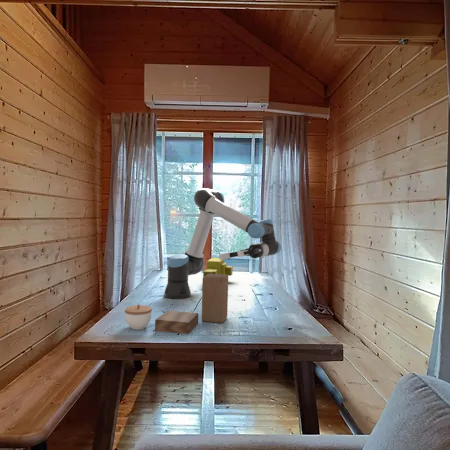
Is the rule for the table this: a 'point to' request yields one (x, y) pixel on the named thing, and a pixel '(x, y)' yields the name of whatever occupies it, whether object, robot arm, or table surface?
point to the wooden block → (214, 298)
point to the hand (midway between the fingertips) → (228, 255)
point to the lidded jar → (138, 316)
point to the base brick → (176, 322)
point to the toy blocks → (217, 267)
